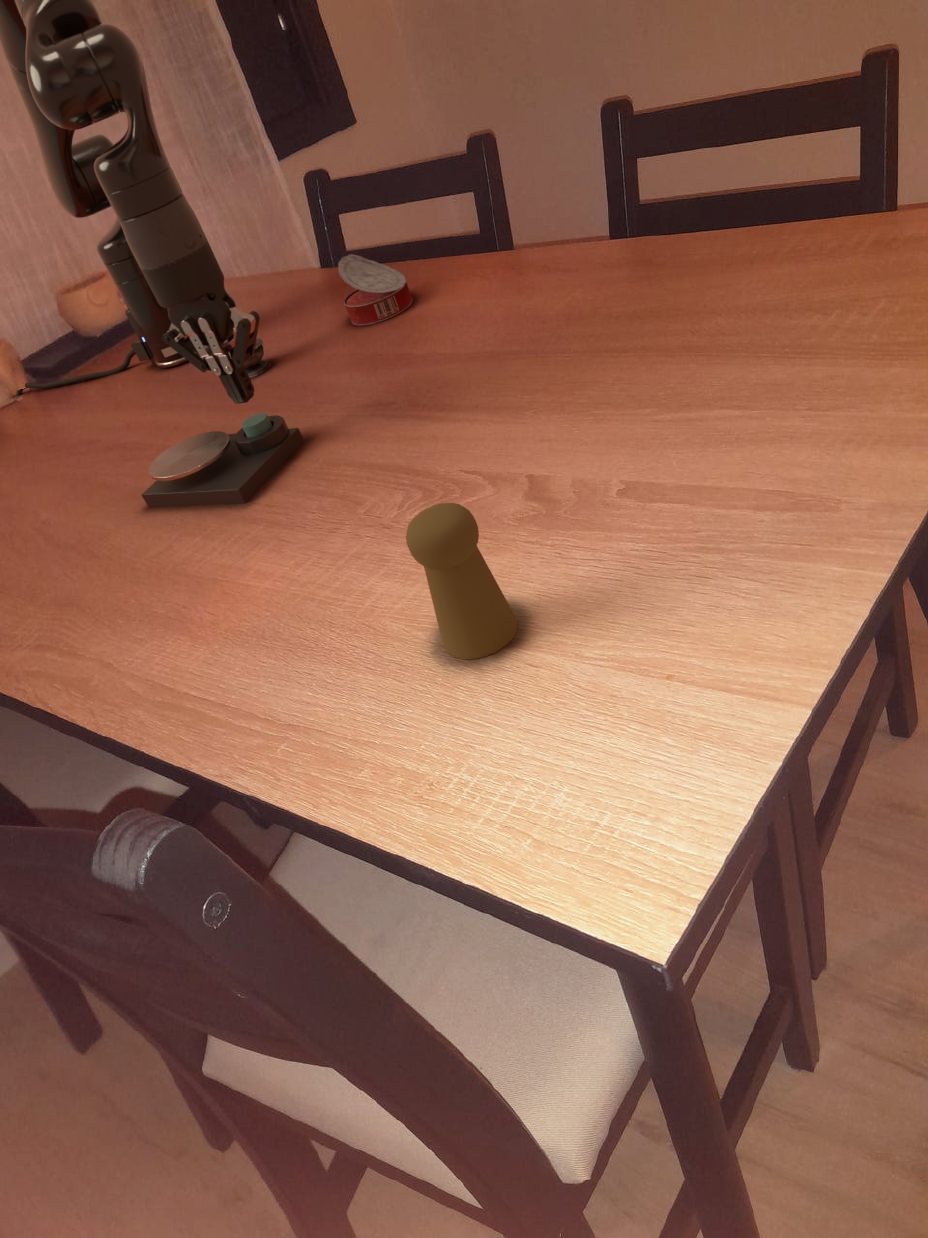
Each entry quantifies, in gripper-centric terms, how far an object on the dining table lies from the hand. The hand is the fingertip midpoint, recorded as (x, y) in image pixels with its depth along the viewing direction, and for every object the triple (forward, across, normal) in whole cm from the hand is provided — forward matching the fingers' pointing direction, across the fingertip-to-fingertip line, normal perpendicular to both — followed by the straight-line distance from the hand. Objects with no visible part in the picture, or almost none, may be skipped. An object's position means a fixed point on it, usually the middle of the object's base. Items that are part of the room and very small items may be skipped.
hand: (244, 399), depth 108 cm
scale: (+7, +4, +4) cm, 9 cm away
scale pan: (+4, +7, +6) cm, 9 cm away
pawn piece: (+8, -41, +30) cm, 51 cm away
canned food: (+7, +6, -41) cm, 42 cm away
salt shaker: (+7, +20, -25) cm, 33 cm away
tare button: (+4, 0, 0) cm, 4 cm away
